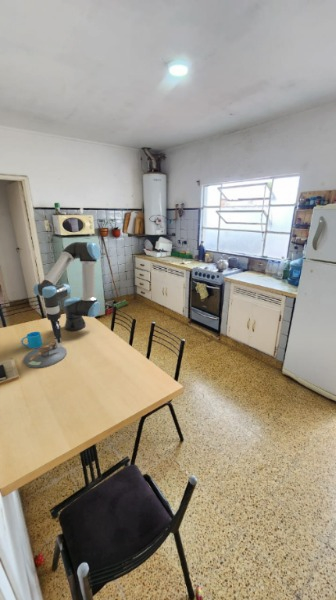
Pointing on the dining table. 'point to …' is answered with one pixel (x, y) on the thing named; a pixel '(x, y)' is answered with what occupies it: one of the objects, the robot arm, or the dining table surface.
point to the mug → (33, 340)
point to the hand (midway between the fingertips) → (59, 346)
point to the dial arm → (46, 348)
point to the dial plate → (44, 357)
